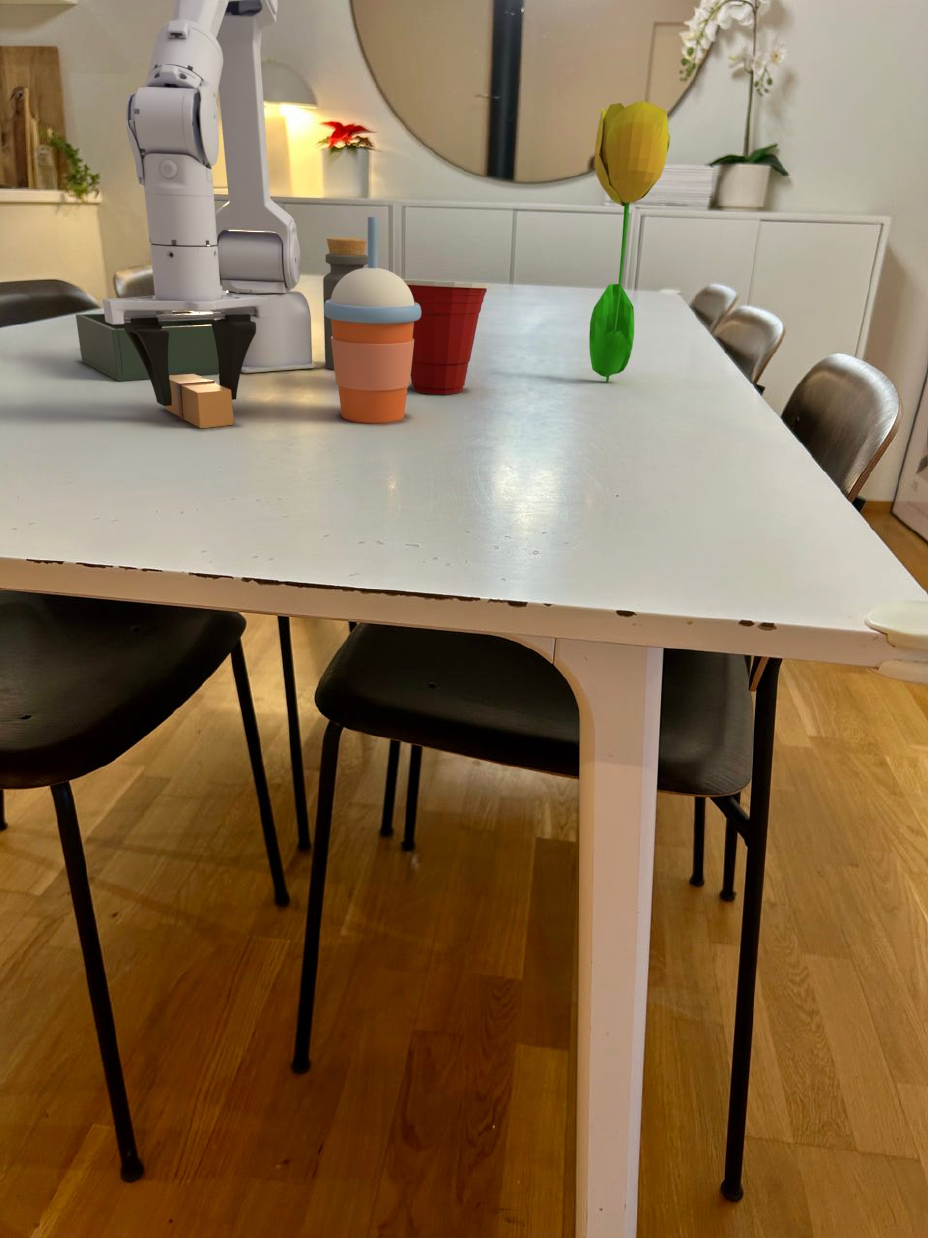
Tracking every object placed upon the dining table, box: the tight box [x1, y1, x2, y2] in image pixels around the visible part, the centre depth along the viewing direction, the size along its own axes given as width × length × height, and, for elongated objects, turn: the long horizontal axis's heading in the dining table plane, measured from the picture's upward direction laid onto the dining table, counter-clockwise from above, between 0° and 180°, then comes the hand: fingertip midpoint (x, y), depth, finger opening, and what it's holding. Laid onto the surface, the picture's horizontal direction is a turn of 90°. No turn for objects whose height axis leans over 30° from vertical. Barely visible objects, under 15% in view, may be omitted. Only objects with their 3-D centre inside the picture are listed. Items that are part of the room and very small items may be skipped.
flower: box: [588, 100, 671, 384], centre depth 105 cm, size 9×8×30 cm
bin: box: [75, 311, 219, 382], centre depth 108 cm, size 14×14×6 cm
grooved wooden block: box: [164, 374, 234, 429], centre depth 85 cm, size 3×9×3 cm, turn 36°
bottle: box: [322, 237, 368, 370], centre depth 111 cm, size 6×6×15 cm
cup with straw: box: [323, 216, 421, 424], centre depth 85 cm, size 9×9×18 cm
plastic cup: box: [402, 279, 491, 395], centre depth 100 cm, size 11×11×12 cm
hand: (197, 400), depth 85 cm, fingers open, 6 cm apart
